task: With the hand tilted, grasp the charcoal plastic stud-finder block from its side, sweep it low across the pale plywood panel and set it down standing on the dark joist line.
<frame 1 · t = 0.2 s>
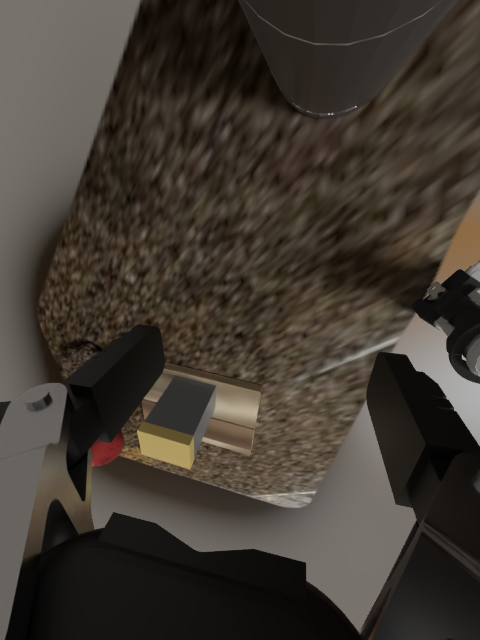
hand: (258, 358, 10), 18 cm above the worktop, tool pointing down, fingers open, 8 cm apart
concrete sample: (108, 369, 42), on the worktop
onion: (119, 426, 49), on the worktop
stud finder: (195, 391, 37), point 1 cm above the worktop, touching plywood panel
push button: (448, 287, 24), on the worktop
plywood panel: (198, 404, 40), on the worktop
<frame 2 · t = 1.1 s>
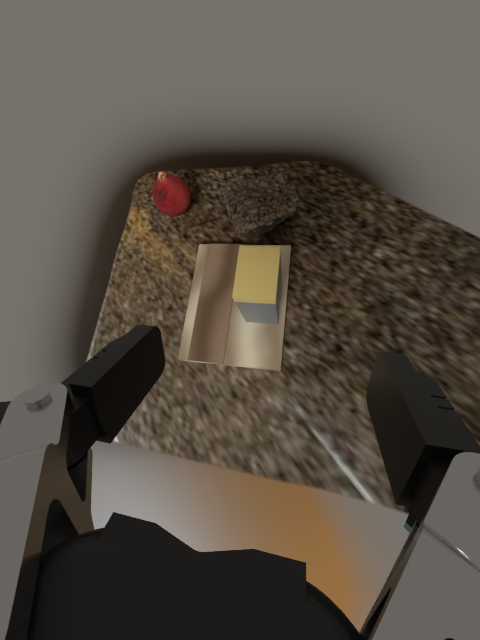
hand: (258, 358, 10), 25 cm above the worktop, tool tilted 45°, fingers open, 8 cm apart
concrete sample: (263, 214, 42), on the worktop
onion: (181, 212, 45), on the worktop
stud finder: (264, 302, 36), point 1 cm above the worktop, touching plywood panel
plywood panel: (237, 303, 38), on the worktop
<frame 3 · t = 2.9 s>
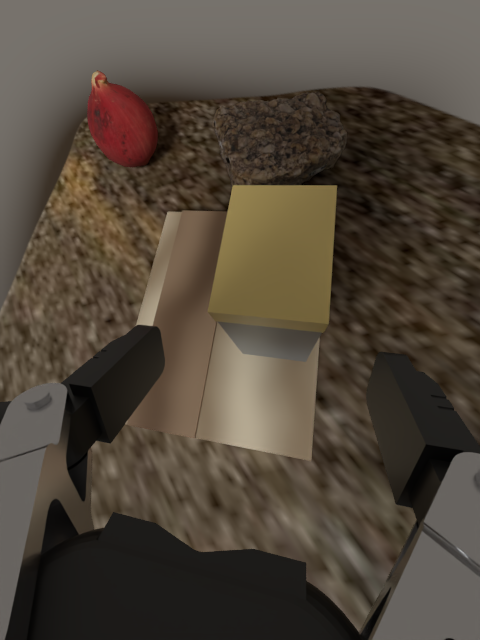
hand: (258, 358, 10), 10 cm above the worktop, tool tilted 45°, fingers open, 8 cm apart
concrete sample: (281, 166, 25), on the worktop
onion: (145, 165, 28), on the worktop
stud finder: (278, 317, 19), point 1 cm above the worktop, touching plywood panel
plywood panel: (228, 316, 21), on the worktop
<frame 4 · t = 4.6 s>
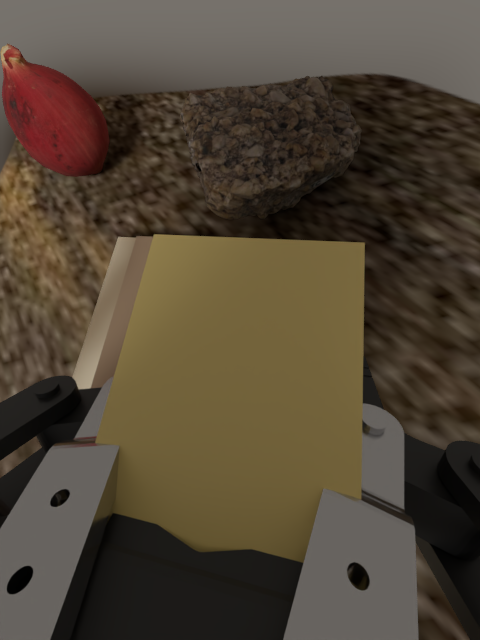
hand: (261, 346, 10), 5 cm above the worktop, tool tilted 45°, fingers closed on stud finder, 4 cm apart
concrete sample: (274, 174, 20), on the worktop
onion: (98, 173, 22), on the worktop
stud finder: (262, 397, 13), point 1 cm above the worktop, touching gripper, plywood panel
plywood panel: (194, 387, 15), on the worktop
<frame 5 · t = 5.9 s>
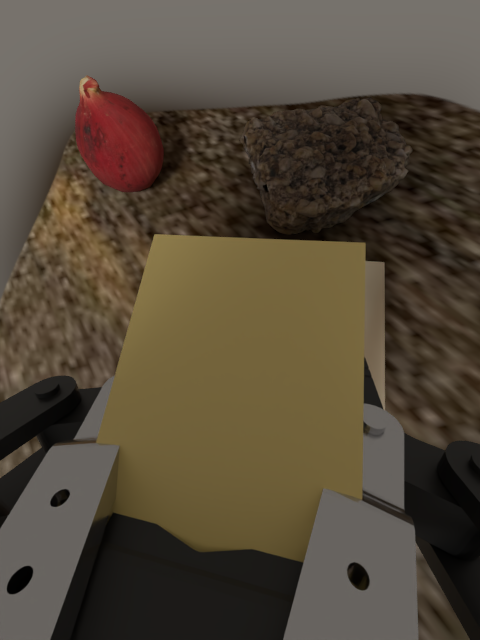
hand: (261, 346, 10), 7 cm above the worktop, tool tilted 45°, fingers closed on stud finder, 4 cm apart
concrete sample: (322, 189, 21), on the worktop
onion: (147, 188, 23), on the worktop
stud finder: (262, 397, 13), point 3 cm above the worktop, touching gripper
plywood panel: (256, 392, 16), on the worktop
when the fingers open (5 cm above the worktop, at t = 7.3 s): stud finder stays where it is, resting on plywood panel.
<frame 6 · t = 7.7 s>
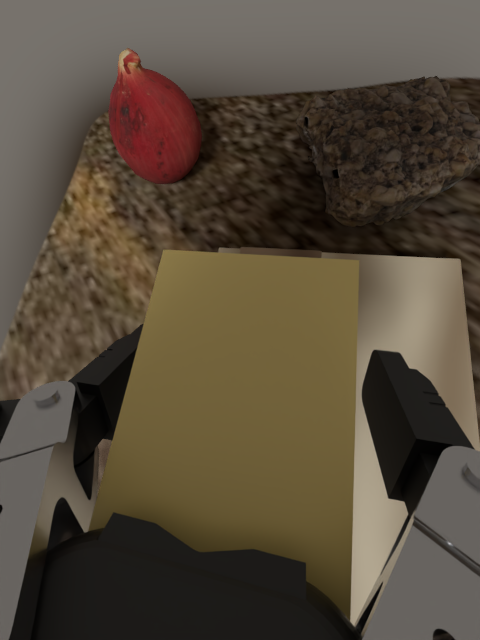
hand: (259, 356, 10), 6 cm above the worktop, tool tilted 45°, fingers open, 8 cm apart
concrete sample: (378, 178, 19), on the worktop
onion: (178, 180, 21), on the worktop
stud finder: (263, 399, 14), point 1 cm above the worktop, touching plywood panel
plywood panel: (317, 406, 14), on the worktop
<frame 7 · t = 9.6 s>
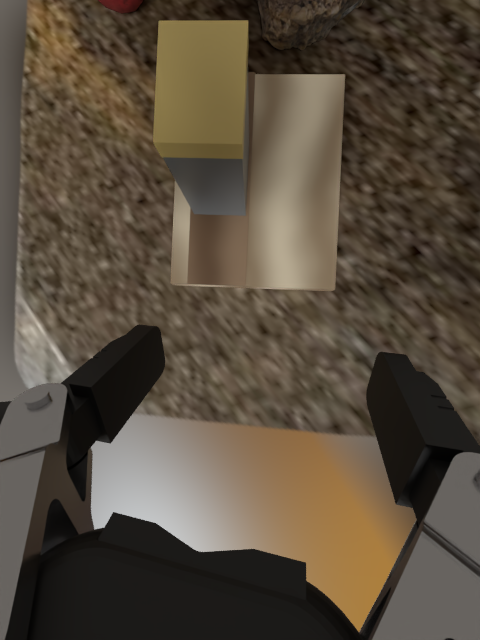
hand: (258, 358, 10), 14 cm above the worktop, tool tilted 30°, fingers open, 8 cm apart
concrete sample: (305, 7, 24), on the worktop
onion: (133, 12, 24), on the worktop
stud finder: (221, 179, 22), point 1 cm above the worktop, touching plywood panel
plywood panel: (256, 187, 23), on the worktop
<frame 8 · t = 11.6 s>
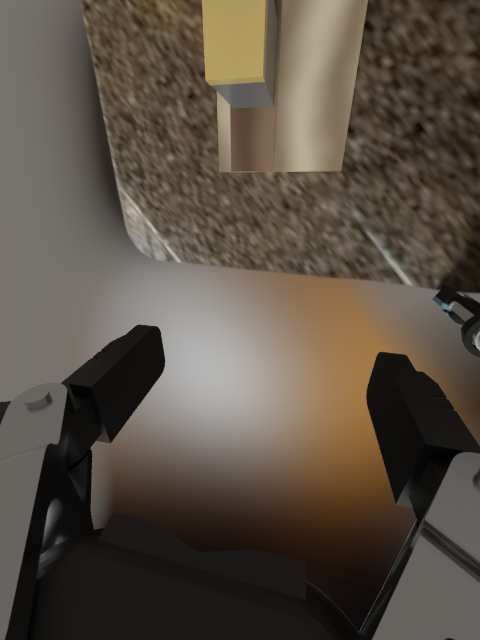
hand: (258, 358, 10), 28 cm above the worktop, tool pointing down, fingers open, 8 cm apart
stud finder: (254, 70, 26), point 1 cm above the worktop, touching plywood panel
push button: (456, 302, 34), on the worktop
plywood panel: (284, 71, 27), on the worktop
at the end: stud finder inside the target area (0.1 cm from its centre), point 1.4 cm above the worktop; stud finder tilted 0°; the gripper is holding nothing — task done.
